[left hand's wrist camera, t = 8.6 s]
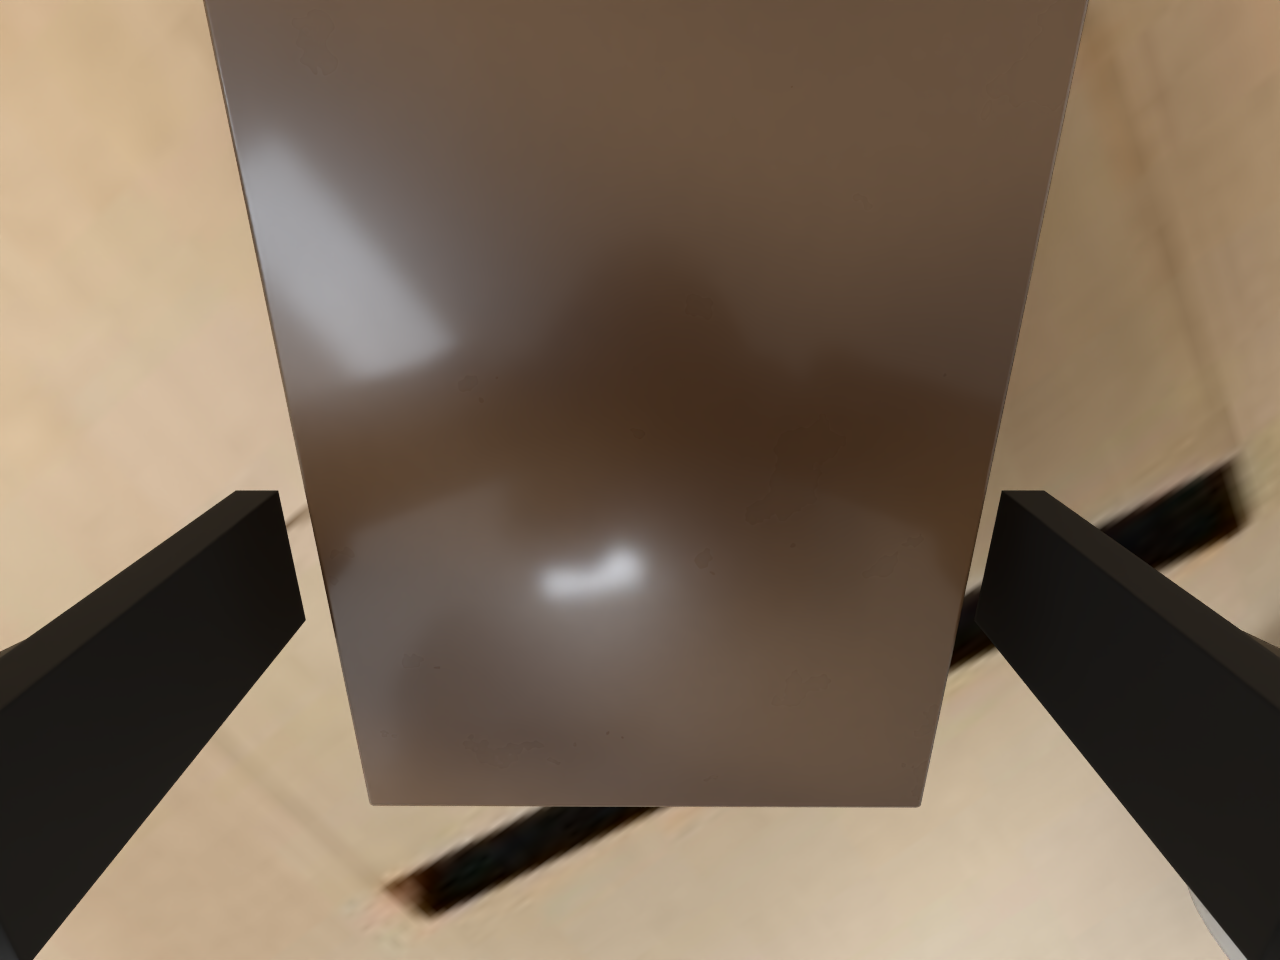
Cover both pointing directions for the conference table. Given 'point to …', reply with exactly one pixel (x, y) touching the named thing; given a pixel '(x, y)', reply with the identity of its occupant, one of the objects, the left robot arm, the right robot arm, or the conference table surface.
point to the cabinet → (645, 371)
